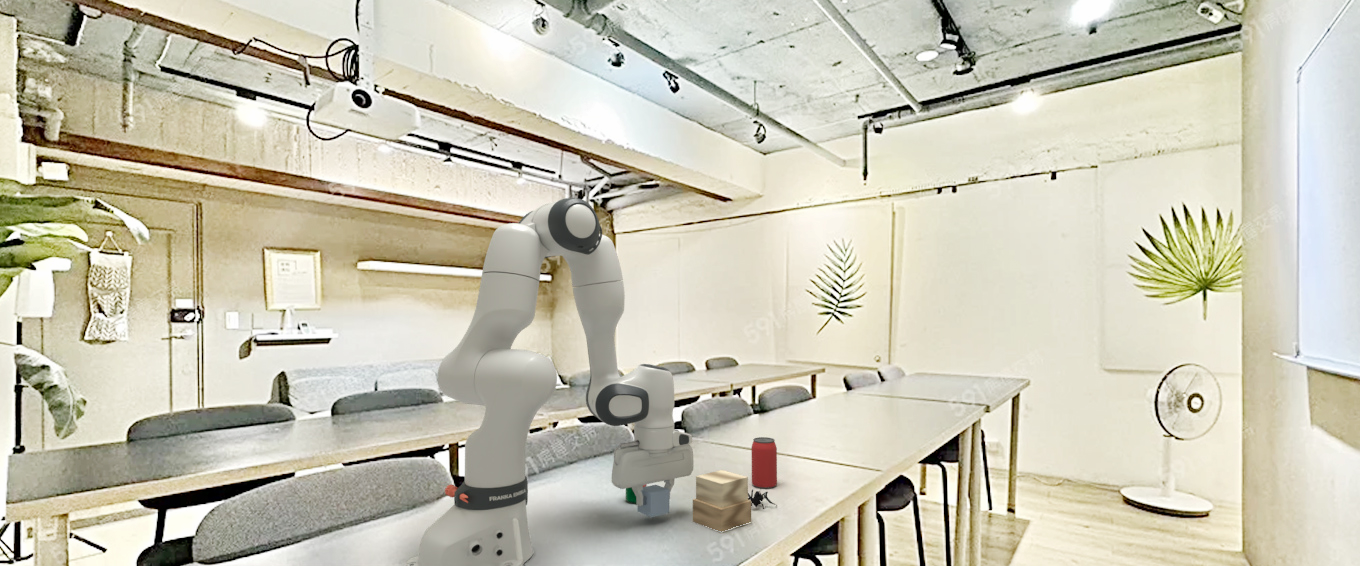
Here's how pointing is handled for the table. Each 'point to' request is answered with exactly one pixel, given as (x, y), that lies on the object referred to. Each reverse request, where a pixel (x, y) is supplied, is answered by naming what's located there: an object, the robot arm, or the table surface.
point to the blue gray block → (655, 501)
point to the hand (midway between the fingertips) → (653, 502)
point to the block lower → (721, 515)
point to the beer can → (764, 462)
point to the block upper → (722, 488)
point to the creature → (758, 498)
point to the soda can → (631, 495)
